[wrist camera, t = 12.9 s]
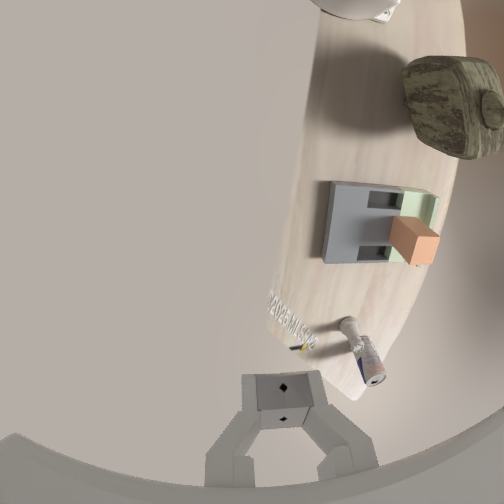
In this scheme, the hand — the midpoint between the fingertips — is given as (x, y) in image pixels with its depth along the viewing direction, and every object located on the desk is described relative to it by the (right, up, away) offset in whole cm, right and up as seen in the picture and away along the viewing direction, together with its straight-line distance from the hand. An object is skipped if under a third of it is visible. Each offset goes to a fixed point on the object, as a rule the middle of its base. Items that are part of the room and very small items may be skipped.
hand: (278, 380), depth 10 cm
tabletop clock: (+26, +31, +25) cm, 47 cm away
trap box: (+21, +10, +35) cm, 43 cm away
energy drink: (+26, -17, +52) cm, 60 cm away
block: (+26, +9, +34) cm, 43 cm away
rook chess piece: (+20, -11, +48) cm, 53 cm away
